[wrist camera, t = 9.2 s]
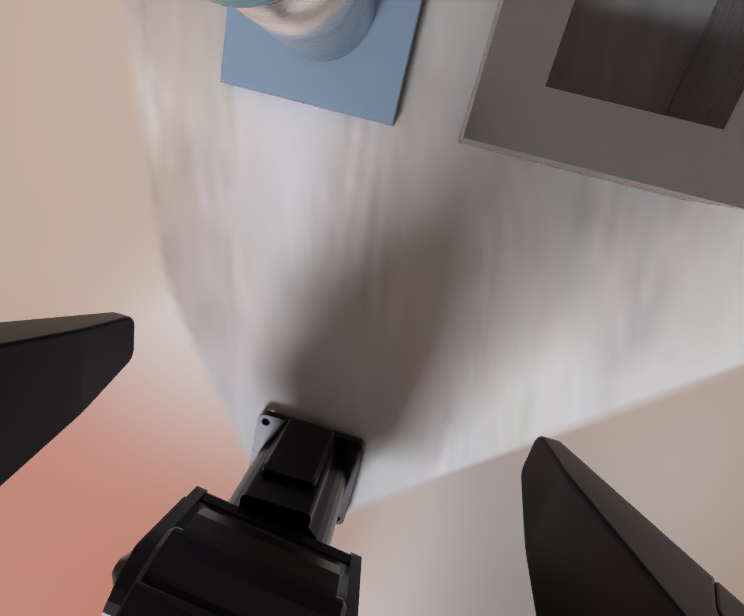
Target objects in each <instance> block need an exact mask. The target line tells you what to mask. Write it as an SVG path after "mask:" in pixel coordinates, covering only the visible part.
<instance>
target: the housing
mask: <svg viewBox="0 0 744 616" xmlns="http://www.w3.org/2000/svg"><path fill="white" fill-rule="evenodd" d="M574 2H575V0H499V3H498V7H497V10H496V14H495V17H494V21H493V24H492V27H491V31H490V34H489V38H488V41H487V45H486V48H485V51H484V55H483V58H482V62H481V65H480V69H479V72H478V75H477V79H476V82H475V86H474V89H473V92H472V96H471V99H470V103H469V106H468V110H467V113H466V116H465V120H464V123H463V127H462V130H461V134H460V137H459V140H458V143H462V144H466V145H470V146H474V147H478V148H482V149H486V150H490V151H494V152H498V153H502V154H506V155H510V156H513V157H517V158H521V159H525V160H529V161H533V162H537V163H541V164H545V165H549V166H553V167H557V168H561V169H565V170H569V171H573V172H577V173H580V174H584V175H588V176H592V177H596V178H600V179H604V180H608V181H612V182H616V183H620V184H624V185H628V186H632V187H636V188H640V189H644V190H647V191H651V192H655V193H659V194H663V195H667V196H671V197H675V198H679V199H683V200H689V201H695V202H701V203H707V204H713V205H719V206H725V207H731V208H737V209H743V210H744V0H718V2H717V4H716V6H715V8H714V10H713V13H712V15H711V17H710V19H709V22H708V24H707V26H706V28H705V30H704V33H703V35H702V37H701V39H700V42H699V44H698V46H697V48H696V50H695V53H694V55H693V57H692V59H691V62H690V64H689V66H688V68H687V70H686V73H685V75H684V77H683V79H682V82H681V84H680V86H679V88H678V91H677V93H676V95H675V97H674V99H673V102H672V104H671V106H670V108H669V111H668V113H667V115H666V116H665V115H661V114H657V113H653V112H649V111H645V110H641V109H636V108H632V107H628V106H624V105H620V104H616V103H612V102H608V101H603V100H599V99H595V98H591V97H587V96H583V95H579V94H575V93H571V92H566V91H562V90H558V89H554V88H550V87H546V86H545V85H546V83H547V80H548V77H549V74H550V71H551V68H552V65H553V62H554V59H555V57H556V54H557V51H558V48H559V45H560V42H561V39H562V36H563V34H564V31H565V28H566V25H567V22H568V19H569V16H570V13H571V10H572V8H573V5H574Z"/></svg>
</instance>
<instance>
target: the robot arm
mask: <svg viewBox="0 0 744 616" xmlns="http://www.w3.org/2000/svg"><path fill="white" fill-rule="evenodd" d="M133 350H134V321H133V319H132V318H131V317H129V316H125V315H122V314H119V313H114V312H110V313H100V314H88V315H77V316H67V317H55V318H44V319H33V320H22V321H11V322H0V486H1V485H2V484H3V483H4V482H5V481H6V480H8V479H9V478H10V477H11V476H12V475H13V474H14V473H15V472H17V471H18V470H19V469H20V468H21V467H22V466H23V465H24V464H25V463H27V462H28V461H29V460H30V459H31V458H32V457H33V456H34V455H35V454H37V452H39V451H40V450H41V449H42V448H43V447H44V446H45V445H47V443H49V442H50V441H51V440H52V439H53V438H54V437H56V436H57V435H58V434H59V433H60V432H61V431H62V430H63V429H64V428H66V426H68V425H69V424H70V423H71V422H72V421H73V420H74V419H75V418H77V417H78V416H79V415H80V414H81V413H82V412H83V411H84V410H85V409H86V408H87V407H88V406H89V405H90V404H91V402H92V401H93V400H94V399H95V398H96V397H97V396H98V395H99V394H100V392H102V390H103V389H104V388H105V387H106V386H107V385H108V384H109V383H110V382H111V381H112V380H113V378H114V377H115V376H116V375H117V374H118V373H119V372H120V371H121V370H122V369H123V368H124V367H125V365H126V364H127V363H128V362H129V361H130V359H131V357H132V355H133ZM264 418H266V419H268V420H269V421H270V422H267V421H265V419H264ZM353 446H358V447H359V448H354V447H353ZM364 448H365V444H364V442H363V441H362V440H361V439H359V438H356V437H353V436H350V435H346V434H343V433H340V432H336V431H333V430H330V429H327V428H323V427H320V426H317V425H313V424H310V423H307V422H303V421H300V420H297V419H293V418H290V417H287V416H283V415H280V414H277V413H273V412H270V411H264V412H262V413H261V415H260V416H259V418H258V420H257V426H256V432H255V438H254V444H253V450H252V456H251V462H250V467H249V469H248V471H247V472H246V474H245V475H244V477H243V479H242V481H241V482H240V484H239V485H238V487H237V488H236V490H235V492H234V493H233V495H232V497H231V498H230V500H229V501H225V500H223V499H221V498H218V497H216V496H214V495H212V494H209V493H207V490H206V489H203V488H201V487H198V486H197V487H196V488H195V489H194V490H193V491H192V492H191V493H190V494H189V495H188V496H187V497H184V498H182V499H181V500H180V502H178V503H177V504H176V505H175V506H174V507H173V508H172V509H171V510H170V511H169V512H168V513H167V514H166V515H165V516H164V517H163V518H162V519H161V520H160V521H159V523H157V524H156V526H154V527H153V528H152V529H151V530H150V532H148V533H147V534H146V535H145V536H144V537H143V538H142V539H141V540H140V541H139V542H138V544H137V545H136V546H135V547H134V549H133V550H132V551H131V552H130V553H128V554H127V555H125V556H123V557H122V558H121V559H120V560H119V561H118V563H117V564H116V566H115V567H114V570H113V571H112V579H113V589H112V591H111V594H110V596H109V598H108V601H107V603H106V605H105V607H104V610H103V612H102V615H101V616H358V604H359V589H360V573H361V559H362V557H361V556H358V555H356V554H354V553H351V554H348V553H345V552H343V551H341V550H339V549H336V548H334V547H332V546H330V543H331V539H332V536H333V532H334V529H335V525H336V524H341V523H343V521H344V518H345V514H346V511H347V507H348V504H349V500H350V497H351V494H352V490H353V487H354V483H355V480H356V476H357V473H358V469H359V466H360V462H361V459H362V455H363V452H364ZM521 483H522V502H523V520H524V539H525V549H526V556H527V563H528V568H529V575H530V581H531V586H532V593H533V599H534V605H535V611H536V616H744V604H743V603H741V602H740V601H739V600H738V599H737V598H736V597H735V596H733V595H732V594H731V593H730V592H729V591H728V590H727V589H726V588H724V587H723V586H722V585H721V584H720V583H718V582H715V581H714V578H713V577H712V576H711V575H709V573H707V572H706V571H705V570H704V569H703V568H702V567H701V566H700V565H698V564H697V563H696V562H695V561H694V560H693V559H692V558H690V557H689V556H688V555H687V554H686V553H685V552H684V551H683V550H681V549H680V548H679V547H678V546H677V545H676V544H675V543H674V542H672V541H671V540H670V539H669V538H668V537H667V536H666V535H665V534H663V533H662V532H661V531H660V530H659V529H658V528H657V527H656V526H654V525H653V524H652V523H651V522H650V521H649V520H648V519H647V518H645V517H644V516H643V515H642V514H641V513H640V512H639V511H638V510H636V509H635V508H634V507H633V506H632V505H631V504H630V503H628V502H627V501H626V500H625V499H624V498H623V497H622V496H620V495H619V494H618V493H617V492H616V491H615V490H614V489H613V488H612V487H610V486H609V485H608V484H607V483H606V482H605V481H604V480H603V479H601V478H600V477H599V476H598V475H597V474H596V473H595V472H594V471H592V470H591V469H590V468H589V467H588V466H587V465H586V464H585V463H583V462H582V461H581V460H580V459H579V458H578V457H577V456H576V455H574V454H573V453H572V452H571V451H570V450H569V449H568V448H567V447H565V446H564V445H563V444H562V443H561V442H559V441H557V440H554V439H550V438H547V437H543V436H540V437H538V438H537V439H536V440H535V442H534V444H533V446H532V448H531V451H530V453H529V455H528V457H527V459H526V461H525V464H524V466H523V469H522V475H521Z"/></svg>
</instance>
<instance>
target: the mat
mask: <svg viewBox="0 0 744 616" xmlns="http://www.w3.org/2000/svg"><path fill="white" fill-rule="evenodd" d="M422 3H423V0H377V8H376V13H375V17H374V20H373V23H372V25H371V28H370V30H369V32H368V34H367V35H366V37H365V38H364V40H363V41H362V42H361V43H360V44H359V46H358V47H357V48H355V49H354V50H353V51H352V52H351V53H349V54H348V55H346V56H344V57H342V58H340V59H337V60H334V61H328V62H317V61H312V60H309V59H306V58H303V57H301V56H299V55H298V54H296V53H295V52H293V51H292V50H291V49H289V48H288V47H287V46H285V45H284V44H283V43H281V42H280V41H279V40H277V39H276V38H275V37H273V36H272V35H271V34H269V33H268V32H267V31H265V30H264V29H263V28H261V27H260V26H259V25H257V24H256V23H255V22H253V21H252V20H251V19H249V18H248V17H247V16H245V15H244V14H243V13H241V12H240V11H239V10H237V9H236V8H234V7H228V8H227V19H226V29H225V40H224V50H223V60H222V71H221V81H220V82H223V83H226V84H230V85H234V86H238V87H241V88H245V89H249V90H253V91H257V92H261V93H265V94H269V95H273V96H277V97H281V98H285V99H289V100H293V101H297V102H301V103H305V104H308V105H312V106H316V107H320V108H324V109H328V110H332V111H336V112H340V113H344V114H348V115H352V116H356V117H360V118H364V119H368V120H372V121H375V122H379V123H383V124H387V125H391V126H393V125H394V121H395V117H396V113H397V108H398V104H399V100H400V96H401V91H402V87H403V83H404V79H405V75H406V70H407V66H408V62H409V58H410V53H411V49H412V45H413V41H414V36H415V32H416V28H417V24H418V20H419V15H420V11H421V7H422Z"/></svg>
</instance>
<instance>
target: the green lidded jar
mask: <svg viewBox="0 0 744 616" xmlns="http://www.w3.org/2000/svg"><path fill="white" fill-rule="evenodd" d="M209 1H211V2H213V3H216V4H219V5H222V6H228V7H234V8H236V9H237V10H239V11H240V12H241V13H243V14H244V15H245V16H247V17H248V18H249V19H251V20H252V21H253V22H255V23H256V24H257V25H259V26H260V27H261V28H263V29H264V30H265V31H267V32H268V33H269V34H271V35H272V36H273V37H275V38H276V39H277V40H279V41H280V42H281V43H283V44H284V45H285V46H287V47H288V48H289V49H291V50H292V51H293V52H295V53H296V54H298V55H299V56H301V57H303V58H306V59H309V60H312V61H317V62H328V61H334V60H337V59H340V58H342V57H344V56H346V55H348V54H349V53H351V52H352V51H353V50H354V49H355V48H357V47H358V46H359V44H360V43H361V42H362V41H363V40H364V38H365V37H366V35H367V34H368V32H369V30H370V28H371V25H372V23H373V20H374V17H375V13H376V8H377V0H209Z"/></svg>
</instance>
